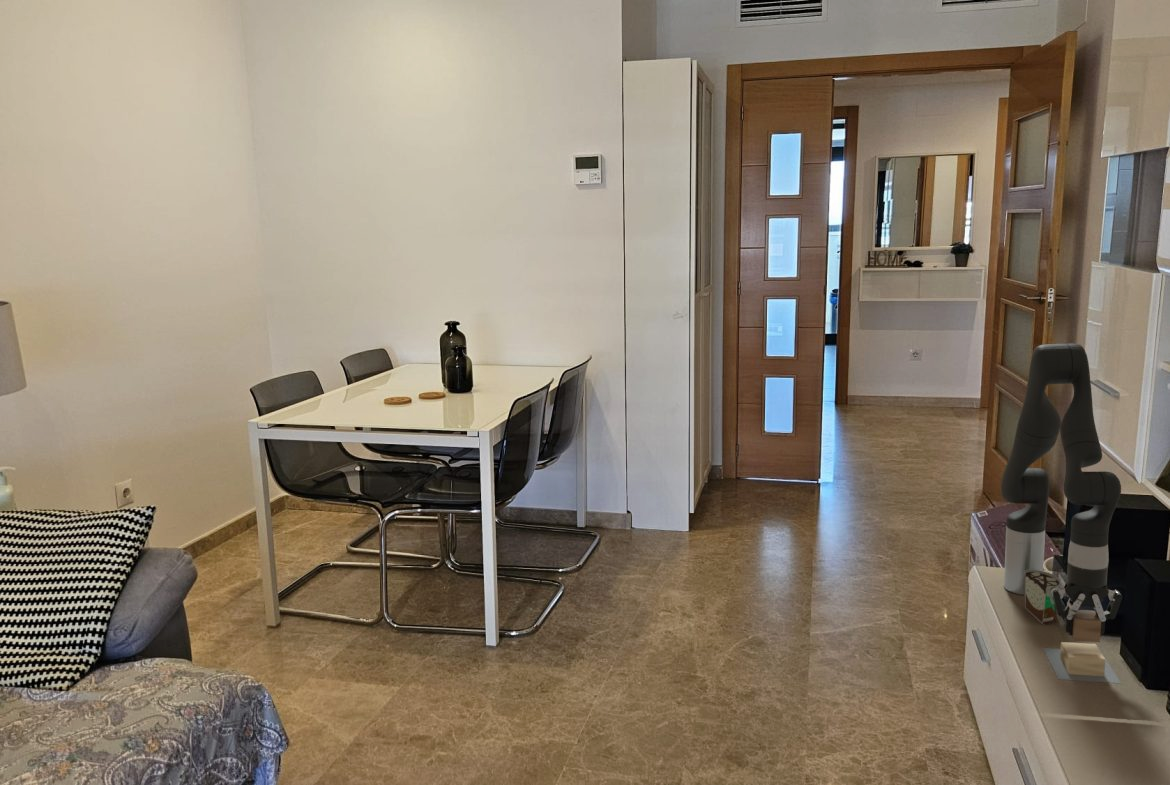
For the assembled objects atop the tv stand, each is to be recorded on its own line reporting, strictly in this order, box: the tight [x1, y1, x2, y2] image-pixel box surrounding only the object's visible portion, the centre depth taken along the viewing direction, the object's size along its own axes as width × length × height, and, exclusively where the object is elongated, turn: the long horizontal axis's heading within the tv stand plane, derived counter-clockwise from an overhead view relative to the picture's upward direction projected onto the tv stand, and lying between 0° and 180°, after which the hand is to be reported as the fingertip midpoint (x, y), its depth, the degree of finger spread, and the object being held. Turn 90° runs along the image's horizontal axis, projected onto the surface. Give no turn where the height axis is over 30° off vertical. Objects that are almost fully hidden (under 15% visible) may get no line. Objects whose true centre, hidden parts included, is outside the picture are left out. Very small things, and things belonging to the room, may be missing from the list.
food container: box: [1024, 570, 1064, 625], centre depth 222 cm, size 12×6×10 cm, turn 179°
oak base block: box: [1060, 641, 1106, 676], centre depth 196 cm, size 7×7×4 cm
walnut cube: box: [1070, 609, 1101, 643], centre depth 195 cm, size 5×5×5 cm
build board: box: [1042, 647, 1122, 684], centre depth 198 cm, size 14×12×1 cm
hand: (1083, 634), depth 195 cm, fingers closed on walnut cube, 5 cm apart
